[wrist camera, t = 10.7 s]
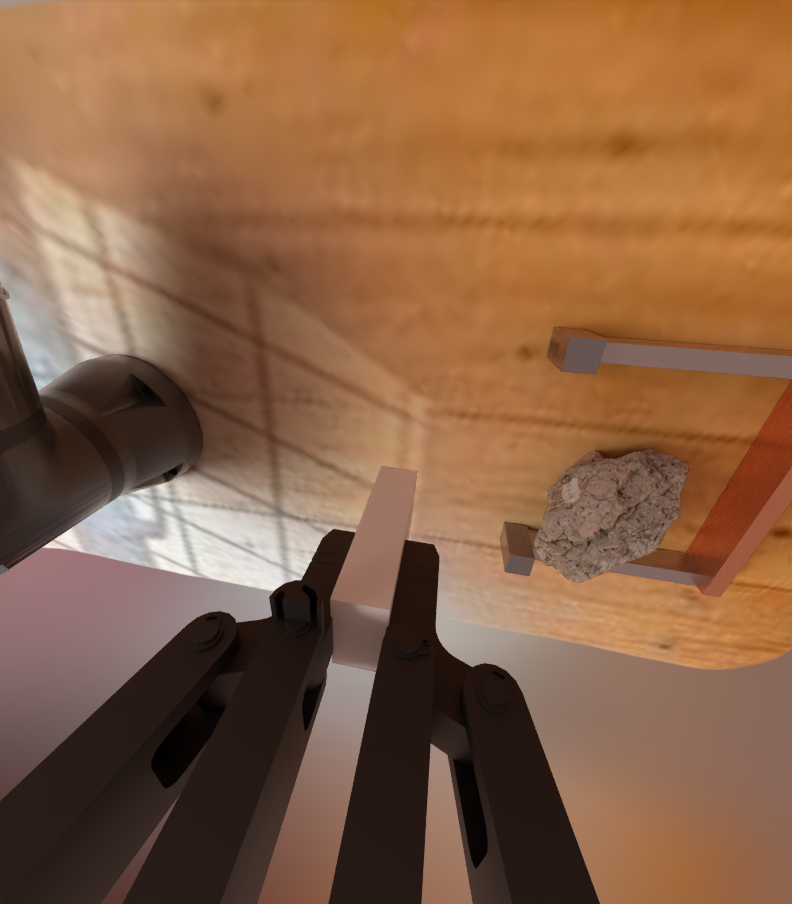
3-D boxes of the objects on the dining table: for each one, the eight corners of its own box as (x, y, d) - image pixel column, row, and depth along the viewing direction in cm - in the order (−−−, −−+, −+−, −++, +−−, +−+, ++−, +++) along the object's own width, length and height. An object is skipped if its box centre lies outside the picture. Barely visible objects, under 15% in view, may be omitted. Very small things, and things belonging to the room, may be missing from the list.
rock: (667, 415, 23) (761, 501, 22) (615, 418, 33) (678, 478, 32) (513, 537, 27) (588, 617, 26) (507, 507, 37) (561, 564, 36)
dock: (500, 538, 39) (504, 572, 34) (554, 327, 28) (570, 336, 23) (693, 568, 36) (724, 609, 32) (836, 347, 25) (914, 362, 21)
